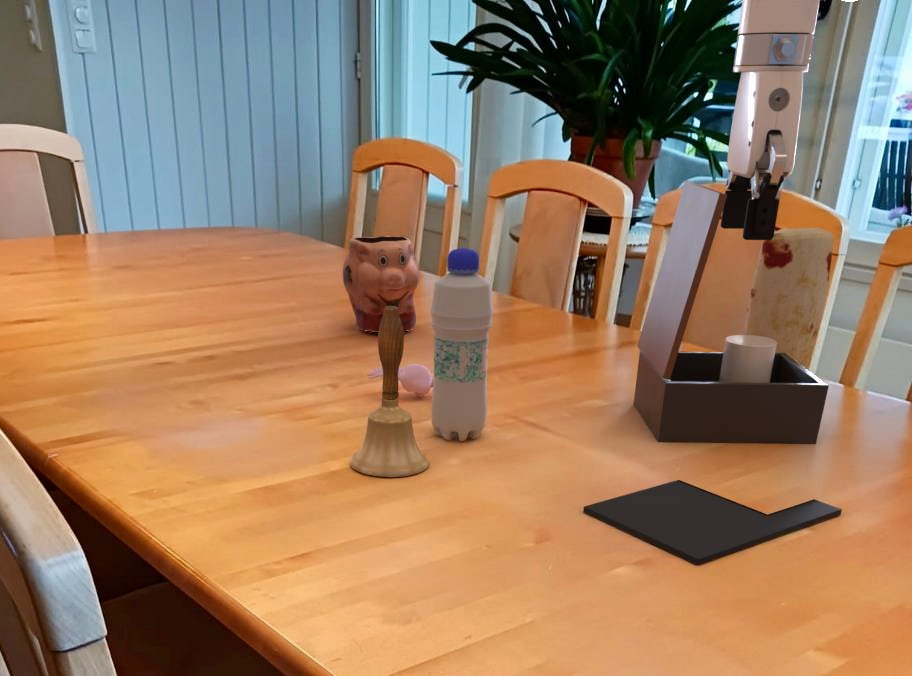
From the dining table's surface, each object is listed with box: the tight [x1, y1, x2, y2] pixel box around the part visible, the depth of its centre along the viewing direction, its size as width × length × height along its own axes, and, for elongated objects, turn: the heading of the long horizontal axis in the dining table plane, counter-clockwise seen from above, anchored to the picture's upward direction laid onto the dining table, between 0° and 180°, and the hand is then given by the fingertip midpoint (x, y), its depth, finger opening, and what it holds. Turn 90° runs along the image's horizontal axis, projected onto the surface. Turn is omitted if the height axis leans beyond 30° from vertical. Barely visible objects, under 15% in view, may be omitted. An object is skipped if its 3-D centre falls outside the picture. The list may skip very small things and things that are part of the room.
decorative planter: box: [342, 235, 421, 332], centre depth 156 cm, size 20×12×14 cm, turn 22°
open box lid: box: [636, 180, 727, 379], centre depth 106 cm, size 18×15×1 cm
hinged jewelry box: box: [633, 350, 830, 445], centre depth 112 cm, size 18×15×7 cm
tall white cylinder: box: [719, 334, 777, 383], centre depth 111 cm, size 6×6×10 cm
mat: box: [583, 479, 843, 566], centre depth 91 cm, size 20×14×1 cm
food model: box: [742, 227, 834, 369], centre depth 126 cm, size 10×7×20 cm
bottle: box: [430, 247, 494, 442], centre depth 106 cm, size 7×7×20 cm
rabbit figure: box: [366, 363, 434, 398], centre depth 123 cm, size 6×6×15 cm
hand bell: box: [349, 306, 430, 478], centre depth 98 cm, size 8×8×16 cm
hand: (745, 233), depth 109 cm, fingers open, 9 cm apart
